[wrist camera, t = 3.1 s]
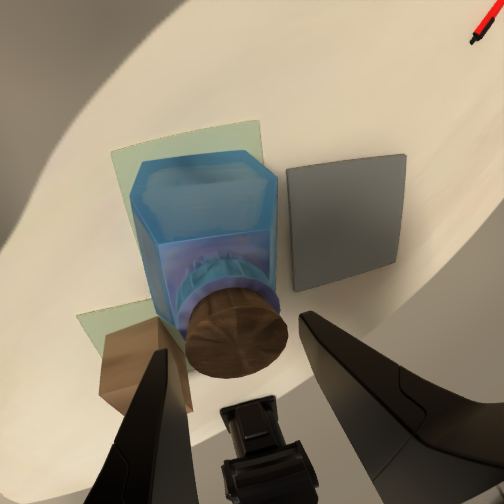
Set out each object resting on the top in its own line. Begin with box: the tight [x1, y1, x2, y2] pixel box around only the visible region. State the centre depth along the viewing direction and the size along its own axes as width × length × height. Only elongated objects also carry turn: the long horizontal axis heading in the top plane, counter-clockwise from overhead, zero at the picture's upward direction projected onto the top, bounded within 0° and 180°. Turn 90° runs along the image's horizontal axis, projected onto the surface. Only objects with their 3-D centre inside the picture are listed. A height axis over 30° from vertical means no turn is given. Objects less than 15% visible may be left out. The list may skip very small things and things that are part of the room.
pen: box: [470, 0, 504, 45], centre depth 14 cm, size 1×19×1 cm, turn 139°
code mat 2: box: [76, 299, 195, 371], centre depth 24 cm, size 9×9×1 cm
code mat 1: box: [110, 120, 264, 257], centre depth 19 cm, size 9×9×1 cm
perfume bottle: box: [129, 150, 288, 379], centre depth 14 cm, size 6×6×12 cm
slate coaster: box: [286, 154, 407, 292], centre depth 23 cm, size 10×10×1 cm
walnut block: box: [99, 316, 193, 416], centre depth 21 cm, size 5×5×6 cm
